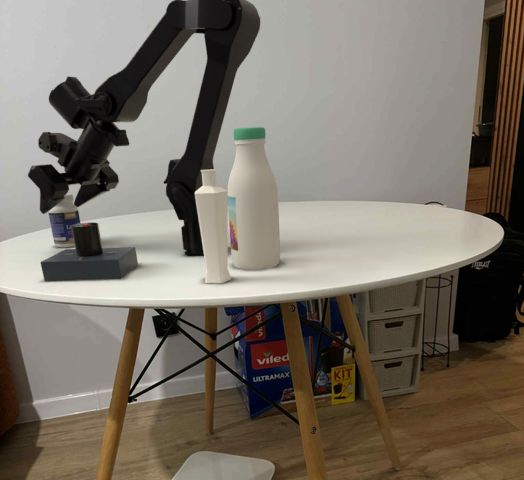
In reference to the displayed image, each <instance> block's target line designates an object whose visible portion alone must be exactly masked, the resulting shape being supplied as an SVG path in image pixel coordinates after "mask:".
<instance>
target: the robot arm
mask: <svg viewBox="0 0 524 480" xmlns="http://www.w3.org/2000/svg"><path fill="white" fill-rule="evenodd" d="M260 28H261V16H260V14H259V11H258V8H256V6H255V5H254V4H253V3H252V2H251V1H249V0H172V1H171V2H169V3H168V5H167V7H166V8H165V13H164V14H163V16H162V17H161V18H160V20H159V21H158V22H157V23H156V25H155V26H154V28H153V29H152V31H151V32H150V33H149V34H148V36H147V37H146V38H145V40H144V41H143V43H142V44H141V46H140V47H139V48H138V50H137V51H136V52H135V53H134V55H133V56H132V58H131V59H130V60H129V62H128V63H127V65H126V66H124V67H123V68H122V69H121V70H120V71H118V72H116V73H114V74H111V76H109V77H108V78H106V80H105V81H103V82H102V83H101V84H100V85H99V86H98V87H97V88H96V89H95V91H94V93H93V94H91V93H90V92H89V91H88V90H87V88H85V87H84V85H83V84H82V82H81V81H80V80H79V79H78V78H77V77H76V76H69V75H67V77H66V78H65V80H64V81H62V82H61V83H58V84H57V85H56V86H55V87H54V88H53V89H51V91H50V92H49V94H48V104H49V105H50V106H51V107H52V108H53V109H54V110H55V111H56V112H57V114H58V115H60V117H61V118H62V119H63V120H64V121H65V122H66V123H67V124H68V126H69V127H70V128H71V129H73V130H79V129H81V130H82V131H81V133H80V135H79V137H78V139H77V140H76V139H75V138H72V137H70V136H68V135H67V134H64V133H61V132H50V131H43V132H42V133H41V135H40V136H39V138H38V142H37V143H38V144H37V145H38V148H39V149H40V150H41V151H43V152H44V153H45V154H50V155H51V156H53V157H55V158H56V159H57V161H56V162H57V164H58V165H59V166H60V167H63V168H64V172H59V171H58V169H56V167H55V166H54V165H53V164H52V163H51V164H50V163H49V164H48V163H47V164H35V165H30V169H29V171H28V173H27V178H29V180H30V181H31V182H32V183H34V185H35V186H36V187H37V189H39V211H40V213H41V214H43V215H46V214H48V211H50V210H51V209H52V208H53V207H55V206H56V205H57V204H58V203H60V202H61V201H62V200H64V199H65V197H64V196H65V195H66V194H69V191H70V187H71V186H80V187H79V189H78V191H77V193H76V196H75V198H74V200H73V204H74V205H75V206H76V207H77V208H80V207H81V206H83V205H85V204H87V203H89V202H90V201H92V200H94V199H96V198H98V197H100V196H102V195H104V194H106V193H109V192H110V191H111V190H113V189H116V188H117V186H118V184H119V183H120V180H119V175H118V174H117V172H116V171H115V170H114V169H113V168H112V167H111V166H110V164H111V162H110V161H109V160H108V158H109V156H110V154H111V153H112V151H113V149H114V147H129V146H130V141H129V137H128V135H127V130H126V129H121V128H119V126H117V125H116V123H135V121H137V120H138V119H139V118H140V116H141V114H142V112H143V110H144V108H145V106H146V105H147V102H148V96H149V91H150V90H151V88H152V86H153V85H154V84H155V82H156V81H157V80H158V78H159V77H160V76H162V73H164V71H165V70H166V69H167V68H168V66H169V65H170V64H171V62H172V61H173V60H174V58H176V56H177V55H178V54H179V53H180V51H181V50H182V48H183V47H184V46H185V44H186V43H187V42H188V41H189V40H190V39H191V37H192V36H193V35H194V34H198V35H199V34H201V35H203V37H204V43H205V44H204V45H205V51H206V63H205V68H204V73H203V74H202V75H203V76H202V80H201V84H200V88H199V92H198V96H197V100H196V104H195V108H194V113H193V117H192V122H191V125H190V130H189V134H188V138H187V143H186V145H185V150H184V153H183V154H182V155H181V157H180V158H175V159H174V158H173V159H170V160H169V162H168V166H167V175H166V177H165V179H164V181H163V185H166V186H165V195H166V197H167V199H168V201H169V203H170V204H171V205H172V207H173V210H174V212H175V215H176V217H177V220H178V221H183V225H182V226H181V227H180V228H181V229H180V230H181V231H180V232H181V239H182V247H183V248H182V249H183V250H184V256H200V255H201V256H202V255H203V256H204V251H203V245H202V238H201V232H200V225H199V219H198V212H197V205H196V199H195V191H197V190H198V189H199V188H200V187H202V186H203V181H202V172H201V170H209V169H215V168H214V167H215V166H214V156H215V152H216V148H217V145H218V141H219V137H220V134H221V130H222V127H223V124H224V120H225V116H226V115H225V114H226V112H227V108H228V104H229V100H230V97H231V95H232V89H233V86H234V83H235V79H236V75H237V73H238V70H239V68H240V66H241V65H242V64H243V62H244V61H245V59H246V58H247V56H248V55H249V54H250V52H251V50H252V48H253V46H254V43H255V41H256V39H257V37H258V34H259V32H260V30H261V29H260Z"/></svg>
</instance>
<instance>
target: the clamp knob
mask: <svg viewBox="0 0 524 480" xmlns="http://www.w3.org/2000/svg"><path fill="white" fill-rule="evenodd" d="M71 229H72V234H73V239H74V244H75V246H74V249H76V254H77V256H94V255H99V254H102V253H103V249H102V248H103V244H102V238H101V231H100V225H99V223H98V222H80V223H79V224H74V225H72V226H71Z"/></svg>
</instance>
